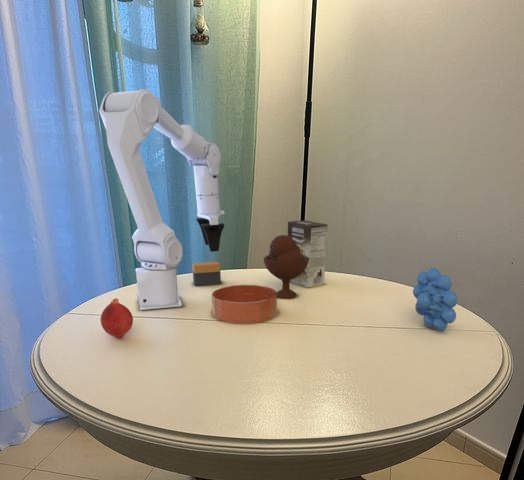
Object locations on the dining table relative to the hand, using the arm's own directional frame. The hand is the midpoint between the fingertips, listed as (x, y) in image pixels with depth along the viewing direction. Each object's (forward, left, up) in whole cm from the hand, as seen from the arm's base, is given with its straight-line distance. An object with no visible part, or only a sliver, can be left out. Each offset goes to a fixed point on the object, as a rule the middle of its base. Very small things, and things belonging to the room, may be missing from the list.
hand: (211, 247), depth 121 cm
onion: (-25, -35, -10) cm, 44 cm away
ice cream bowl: (+15, -17, -10) cm, 25 cm away
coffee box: (+24, -7, -10) cm, 27 cm away
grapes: (+35, -47, -10) cm, 60 cm away
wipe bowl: (+2, -27, -10) cm, 29 cm away
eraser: (-2, 0, -10) cm, 10 cm away
